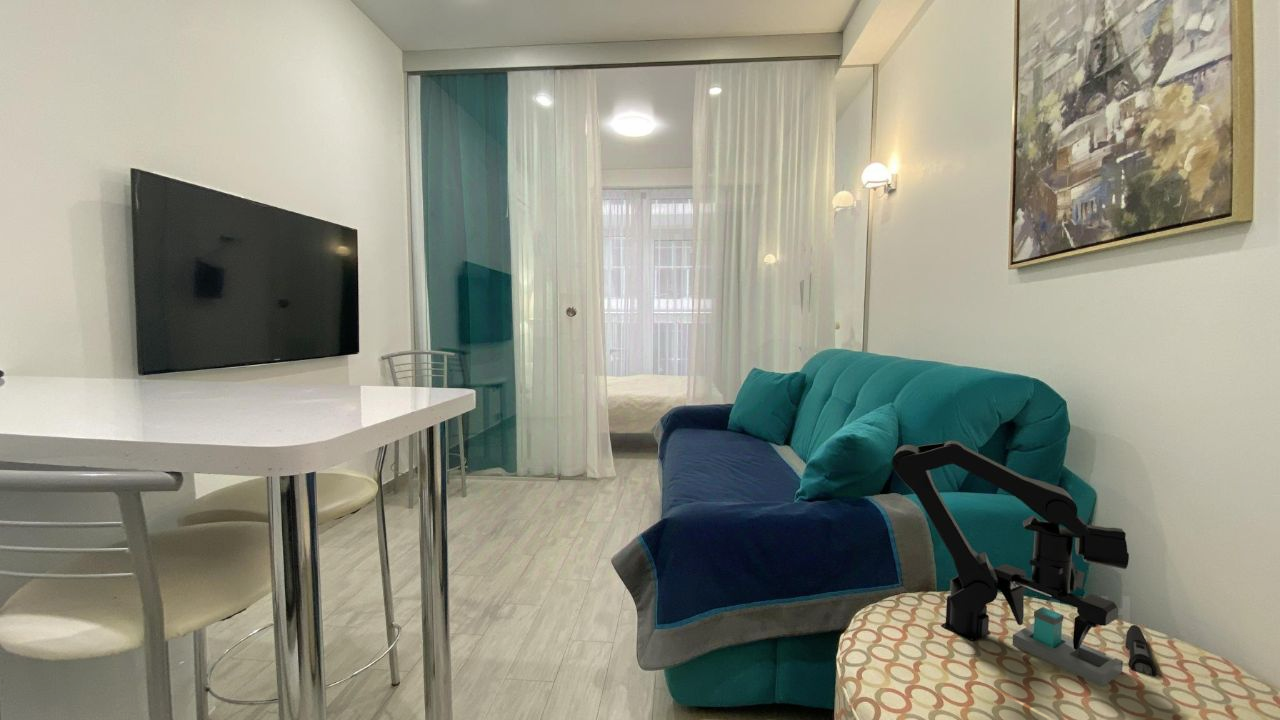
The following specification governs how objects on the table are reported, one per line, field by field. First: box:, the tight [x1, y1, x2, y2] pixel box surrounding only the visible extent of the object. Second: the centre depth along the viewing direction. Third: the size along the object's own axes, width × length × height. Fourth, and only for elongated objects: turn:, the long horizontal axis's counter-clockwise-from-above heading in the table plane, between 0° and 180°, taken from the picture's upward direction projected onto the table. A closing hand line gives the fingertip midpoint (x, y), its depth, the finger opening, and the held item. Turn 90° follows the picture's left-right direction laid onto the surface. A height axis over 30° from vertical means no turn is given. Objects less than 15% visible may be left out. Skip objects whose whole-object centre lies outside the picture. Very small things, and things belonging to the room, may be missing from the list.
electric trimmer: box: [1125, 624, 1158, 678], centre depth 102 cm, size 4×16×3 cm, turn 142°
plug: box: [1033, 606, 1064, 648], centre depth 103 cm, size 3×3×7 cm
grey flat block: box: [1011, 623, 1124, 687], centre depth 101 cm, size 14×8×3 cm, turn 31°
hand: (1047, 636), depth 103 cm, fingers open, 9 cm apart
